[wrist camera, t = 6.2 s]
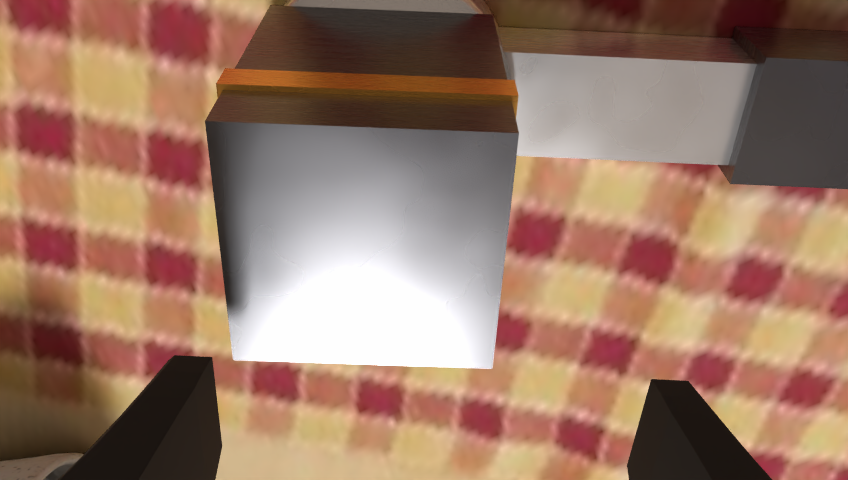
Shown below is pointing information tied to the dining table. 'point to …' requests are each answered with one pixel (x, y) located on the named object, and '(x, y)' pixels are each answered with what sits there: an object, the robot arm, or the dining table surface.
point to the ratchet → (675, 96)
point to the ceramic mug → (38, 467)
